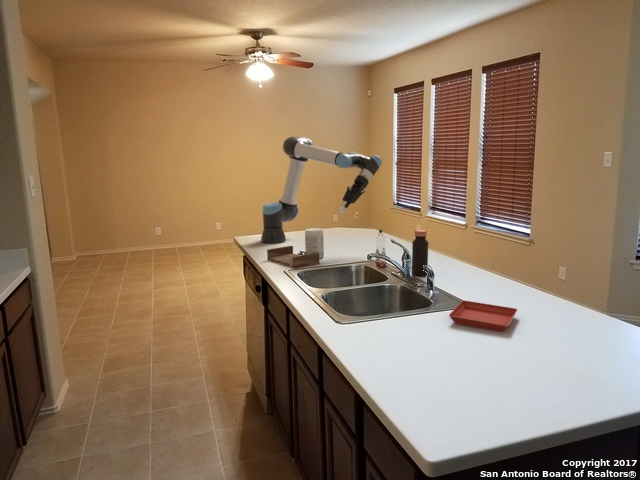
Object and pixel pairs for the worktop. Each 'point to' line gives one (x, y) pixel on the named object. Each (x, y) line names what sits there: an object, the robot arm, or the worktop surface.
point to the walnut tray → (292, 257)
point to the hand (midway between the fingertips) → (340, 211)
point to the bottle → (419, 253)
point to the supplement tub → (314, 241)
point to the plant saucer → (483, 315)
